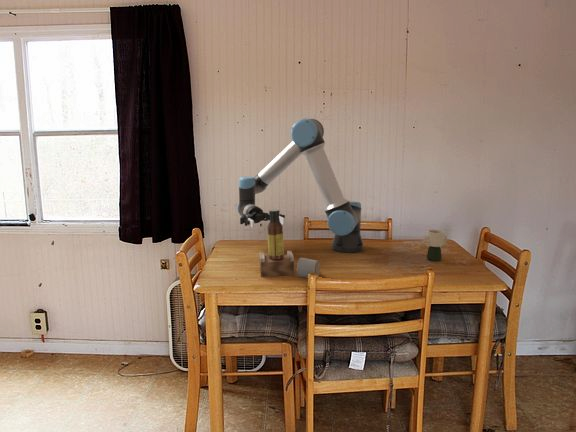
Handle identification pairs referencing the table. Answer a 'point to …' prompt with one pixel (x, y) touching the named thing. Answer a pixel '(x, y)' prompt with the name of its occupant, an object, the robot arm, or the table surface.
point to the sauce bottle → (275, 236)
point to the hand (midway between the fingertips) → (268, 223)
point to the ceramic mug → (307, 267)
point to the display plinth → (277, 265)
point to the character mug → (435, 243)
